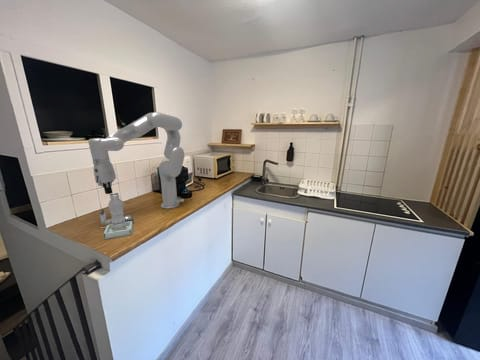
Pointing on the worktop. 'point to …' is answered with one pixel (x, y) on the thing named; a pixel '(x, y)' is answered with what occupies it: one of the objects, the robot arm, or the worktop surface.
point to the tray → (111, 234)
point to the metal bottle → (117, 212)
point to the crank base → (127, 221)
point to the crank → (104, 221)
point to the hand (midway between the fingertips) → (109, 193)
